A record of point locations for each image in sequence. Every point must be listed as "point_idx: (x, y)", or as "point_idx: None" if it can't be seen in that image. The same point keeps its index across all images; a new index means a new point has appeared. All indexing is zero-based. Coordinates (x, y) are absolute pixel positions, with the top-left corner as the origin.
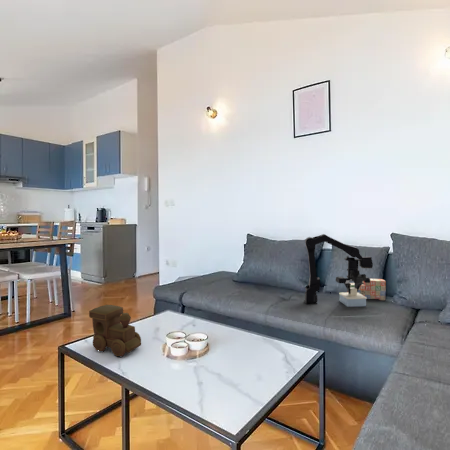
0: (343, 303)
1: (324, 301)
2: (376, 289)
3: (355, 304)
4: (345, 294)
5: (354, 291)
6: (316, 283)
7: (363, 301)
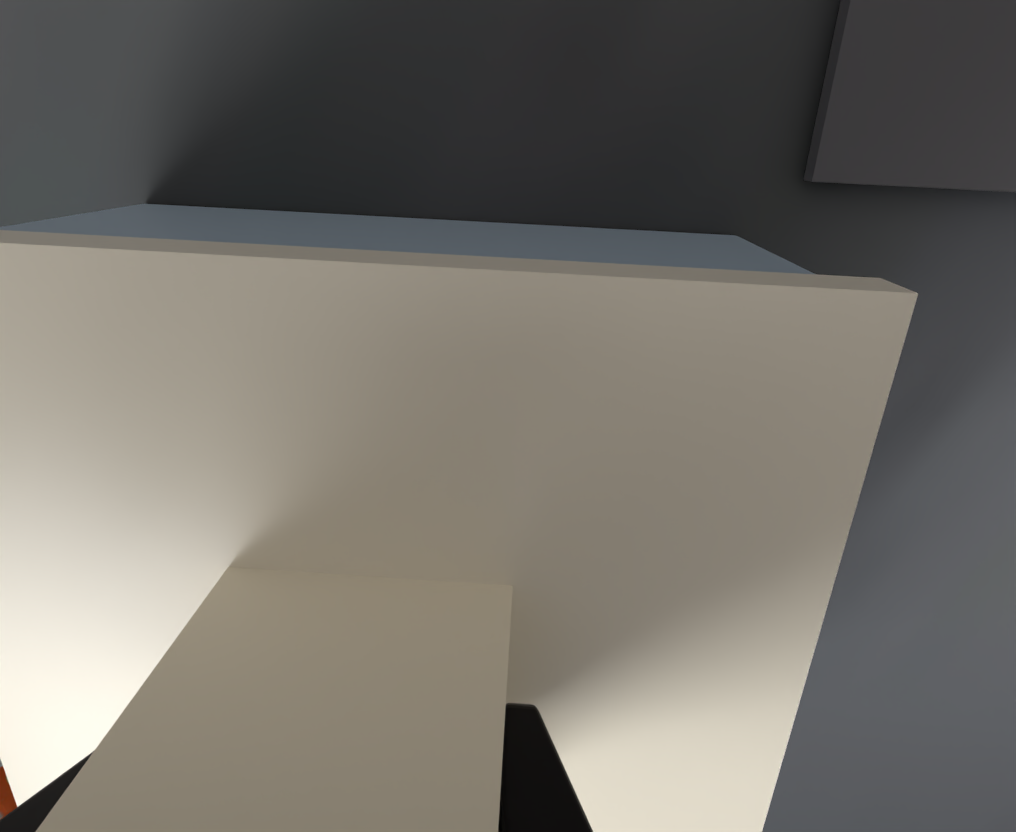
0: None
1: (979, 771)
2: None
3: (470, 231)
4: (636, 772)
5: (272, 747)
6: None
7: (119, 229)
